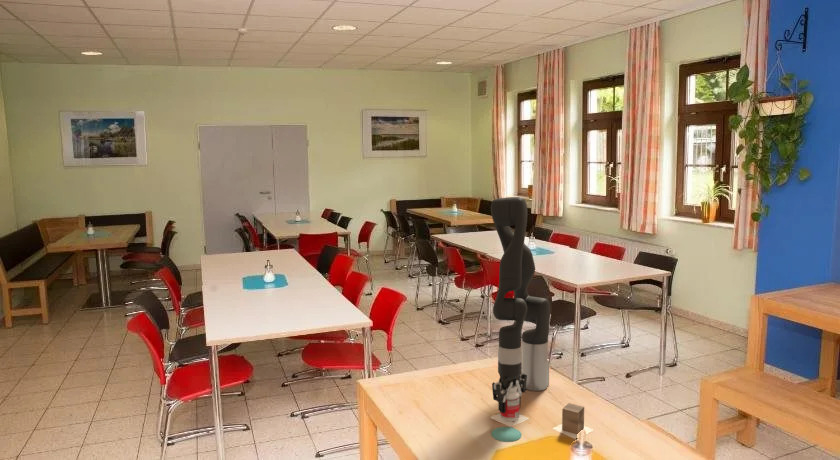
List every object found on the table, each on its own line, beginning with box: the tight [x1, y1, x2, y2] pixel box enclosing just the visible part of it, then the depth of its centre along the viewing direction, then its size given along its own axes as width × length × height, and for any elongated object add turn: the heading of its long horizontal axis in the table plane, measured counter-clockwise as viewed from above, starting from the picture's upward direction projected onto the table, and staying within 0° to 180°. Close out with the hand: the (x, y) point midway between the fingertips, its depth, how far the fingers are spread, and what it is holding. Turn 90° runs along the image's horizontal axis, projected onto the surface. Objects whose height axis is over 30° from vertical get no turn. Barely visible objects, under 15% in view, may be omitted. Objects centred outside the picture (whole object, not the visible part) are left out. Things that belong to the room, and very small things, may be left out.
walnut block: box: [561, 402, 585, 434], centre depth 183 cm, size 5×5×7 cm
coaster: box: [491, 426, 522, 443], centre depth 181 cm, size 9×9×1 cm
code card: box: [489, 412, 530, 428], centre depth 192 cm, size 9×9×1 cm
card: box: [552, 423, 594, 440], centre depth 184 cm, size 9×9×1 cm
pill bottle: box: [499, 385, 520, 422], centre depth 191 cm, size 6×6×11 cm
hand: (509, 409), depth 192 cm, fingers closed on pill bottle, 6 cm apart
